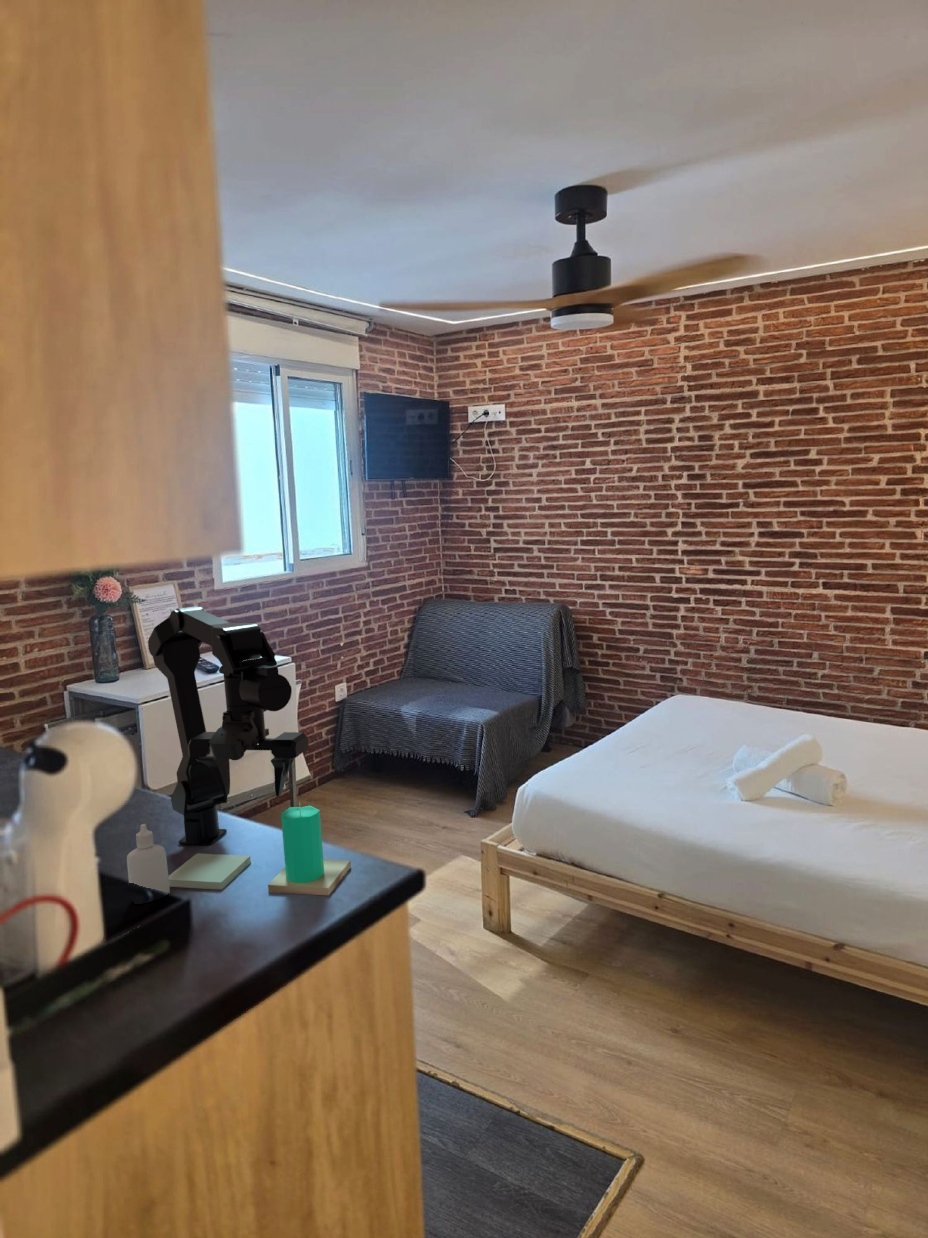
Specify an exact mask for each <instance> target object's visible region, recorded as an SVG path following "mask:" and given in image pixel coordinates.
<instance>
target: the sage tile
mask: <svg viewBox="0 0 928 1238" xmlns="http://www.w3.org/2000/svg"><path fill="white" fill-rule="evenodd" d="M250 864H251V855H239V854H238V855H237V854H219V853H217V854H216V853H195V854H194V855H193V856H191V858H189V859H188V860H187V861H185V862H184V863H183V864H182V865H181V866H179V867H178V868H176V869H175V870H174V871H173V872H171V874H168V878H169V888H172V887H173V888H185V889H186V888H187V889H206V890H207V889H208V890H220V891H221V890H223V889H224V888H225V887H226V886H228V884H230V882H232V881H233V880H235V878H236V877H238V875H239V874H241V872H242V871H244V869H246V867H248V866H249V865H250Z"/></svg>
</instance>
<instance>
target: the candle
mask: <svg viewBox="0 0 928 1238" xmlns="http://www.w3.org/2000/svg"><path fill="white" fill-rule="evenodd" d="M298 803H299V804H298V805H299V806H298V807H297V806H290V807H289V808H287V809H285V810H284V811H283V812H282V813H281V814H280V819H281V830H282V831H281V832H282V841H283V842H282V843H283V855H284V868H285V869H286V878H287V879H288V881H291V882H294V883H307V882H311V881H315V880H317V879H319V878H320V877H322V875H323V874H324V862H323V859H324V851H323V841H322V839H323V838H322V837H323V836H322V821H321V811H320V809H318V808H316V807H314V806H312V805H306V806H301V802H298Z"/></svg>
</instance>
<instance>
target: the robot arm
mask: <svg viewBox="0 0 928 1238" xmlns="http://www.w3.org/2000/svg"><path fill="white" fill-rule="evenodd" d="M169 614H170V615H168V617H167V618H166V619H163V621H161V622H160V623H158V625H155V627H154V628H153V630H152V632H151V633H150V636H149V638H148V640H147V647H148V648H147V649H148V651H149V654H150V656H152V659H153V663H154V666H155V667H156V668H157V669H158V670H159V672H161V674H162V675H163V676H164V677H165V678H166V679H167V684H168V689H169V694H170V700H171V704H172V709H173V715H174V719H175V723H176V730H177V734H178V738H179V739H178V740H179V744H180V745H179V746H180V749H181V754H182V755H181V756H182V758H181V760H180V763H179V765H178V768H177V770H176V779H177V780H176V781H177V783H176V786H175V788H174V790H173V792H172V794H171V797H170V802H171V806H172V810H173V811H175V812H177V813H179V814H180V815H182V816H183V828H184V836H183V837H182V838H181V839H179V840H178V845H195V846H196V845H197V846H210V845H212V844H214V843H215V842H216V841H217V840H219V839H220V838H221V837H222V836H223V835H225V834H226V833H227V832H228V830H227V829H225V828H220V826H219V815H218V813H219V812H218V805H221V804H226V803H228V795H230V790H231V773H230V772H231V771H230V767H231V765H230V760H231V761H238V760H241V759H242V758H243V757H244V755H245V753H246V751H270V752H271V755H272V756H273V758H271V759H270V762H271V764H272V766H273V772H274V774H273V775H274V790H275V792H274V793H275V795H276V797H277V798H278V797H280V796H282V793H283V791H284V787H285V784H286V781H287V777H288V776H289V773H290V772H289V771H290V769H291V767H292V764H293V762H294V760H295V759H296V758H297V757H298V756H300V755H301V754H303V753H304V752H305V751H308V749H309V738H308V737H307V735H306V734H305V733H304V732H301V731H300V732H298V731H297V732H296V731H291V732H290V731H289V732H287V731H285V732H283V733H281V734H280V735H278V736H276V737H274V738H272V737H271V738H267V737H268V736H269V735H270V730H269V729H270V728H266V724H265V722H266V721H265V712H267V711H269V712H278V711H280V710H283V709H284V708H285V707H286V706H287V705H288V704H289V702H290V700H291V697H292V694H293V693H292V691H293V689H292V686H291V683H290V681H289V680H288V679H287V677H285V676H284V675H282V674H280V673H279V667H278V666H277V664H278V662H277V660H276V653H275V652H274V650H273V648H272V647H271V645H270V643H269V642H268V639H267V637H266V635H265V633H264V631H263V630H262V629H261V627H260V626H259V625H258V624H256V623H254V622H253V623H252V622H229V621H227V620H225V619H222V618H221V617H218V616H216V615H214V614H212V613H210V612H207V611H205V610H204V609H203V607H201V606H195V605H193V606H186V607H178V608H176V609H174V610H172V611H171V612H170V613H169ZM203 643H205V645H206V644H207V645H208V646H210V647H211V654H212V656H214V657H215V658H216V659H217V660H218V661H219V663H220V664H221V666H220V667H219V669H218V673H220V674H222V675H223V680H224V684H223V685H224V692H225V705H226V711H224V712H222V718H221V719H222V724H221V726H220V727H218V728H217V729H216V731H207V728H206V724H205V719H204V713H203V710H202V709H203V708H202V704H201V699H200V694H199V690H198V684H197V679H196V673H195V672H196V670H197V666H198V664H199V661H200V659H201V650H200V647H201V646H202V644H203Z"/></svg>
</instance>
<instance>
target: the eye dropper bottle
mask: <svg viewBox="0 0 928 1238" xmlns="http://www.w3.org/2000/svg"><path fill="white" fill-rule="evenodd" d="M153 836H154V835H153V831H152V830H149V829H148V828H147V825H146V823H142V824H140V829H139V832H137V833H135V843H136V848H134V849H133V850H131V851H130V852H129V853H128V854H127V856H126V863H127V864H126V865H127V877H128V884H129V883H134V884H137V885H139V886H143V887H146V888H151V889H156V890H159V891H163V892H168V893H169V894H170V893H171V889H170V888H171V887H169V878H168V876H169V872H168V870H169V869H168V860H167V852H166V849H165V848H164V847H163V846H162V845H160V844H156V843H155V842H154V837H153ZM154 843H155V844H154Z"/></svg>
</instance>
